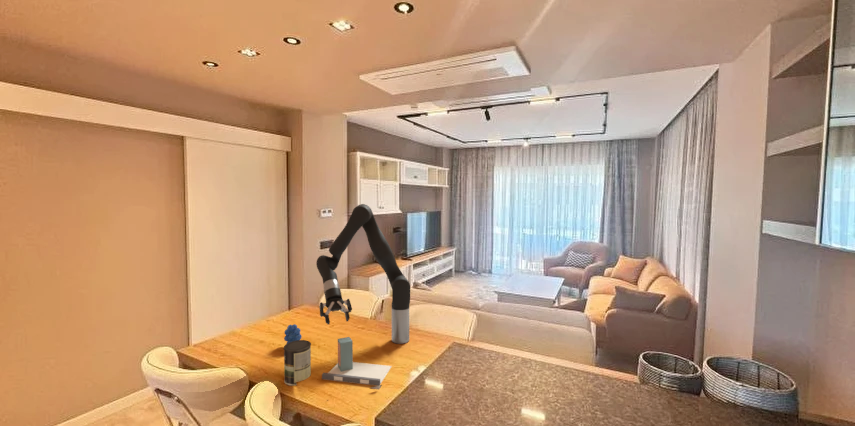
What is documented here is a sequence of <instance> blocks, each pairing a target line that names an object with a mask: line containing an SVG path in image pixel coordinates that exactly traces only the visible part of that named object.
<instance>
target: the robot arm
mask: <svg viewBox="0 0 855 426" xmlns="http://www.w3.org/2000/svg"><path fill="white" fill-rule="evenodd" d="M361 227H362V228H363V230H364V232H365V235H366V238H367V241H368V245H369V249H370V250H371V252H372V255H373V256H374V259H376V261H377V262H378V264H379V266H380V267H381V268H382V270H383V271H384V273H385V275H386V277H387V279H388V281H389V284H390V287H391V291H392V293H391V294H392V296H391V298H392V299H391V342H392V343H394V344H398V345H399V344H407V343H408V342H409V341H410V304H411V283H410V281H409V280H408V279H407V277H406V276H405V275H404V274H403V272H402V270H401V269H400V268H399V266H398V263H397V261H396V257H395V255H394V253H393V250H392V248H391V246H390V244H389V242H388V240H387V238H386V236H385V235H384V233H383V231H382V230H381V229H380V227H379V225H378V223H377V220H376V218H375V215H374V213H373V210H372V208H371V207H370V206H369V205H368V204H364V203H361V204H358V205H357V206H355V207H354V208H353V209H352V212H351V214H350V216H349V219H348V221H347V223H346V224H345V226H344V227H343V228H342V230H341V232H340V233H339V235H337V237H336V238H335V239H334V241H333V242H332V244H331V245H330V247H329V249H328V252H329V253H330V254H331V255H332V256H328V255H324V254H321V255H319V256H318V257H317V259H316V269H317V270H318V273H319V275H320V276H321V279H322V283H323V293H324V298H325V302H320V303H319V307H318V308H319V317H321V318H322V317H323V318H324V320H325V324H327V325H330V323H331V321H330V315H329V314H330V313H331V312H337V311H341V312H343V313H344V317H345V322H349V320H350V318H351V317H350V313H352V311H353V308H352V303H351V300H350V298H347V299H345V300H344V299H343V296H342V290H341V287H340V283H339V279H338V275H337V273H336V271H335V270H336V269H337V268H338V266H339V263H340V262H341V261H340V260H341V257H342V255H343V254H344V252H345V251H346V249H347V248H348V247H349V246H350V245H349V244H350V243H351V241H352V240H353V238H354V236H355V235H356V234H357V232H358V231H359V230H360V229H361ZM344 304H345V305H344ZM324 308H327V309H326V311H325V312H324Z"/></svg>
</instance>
